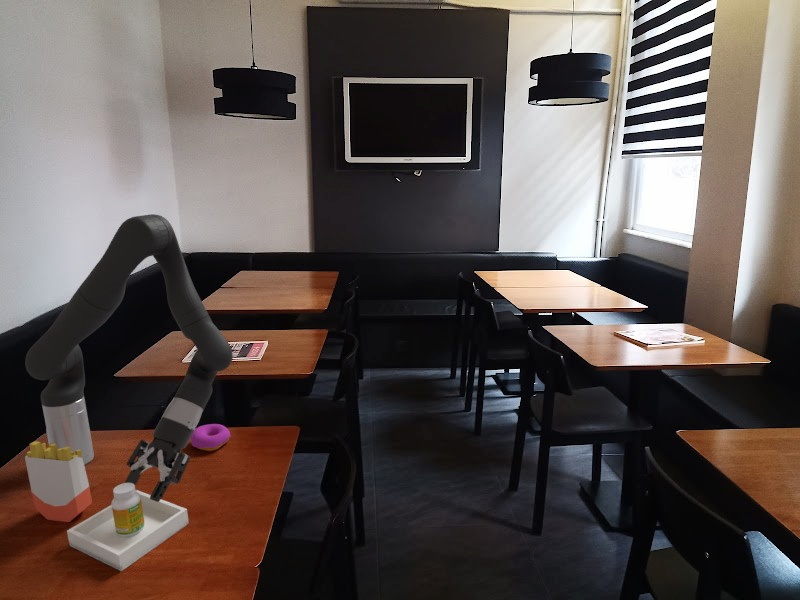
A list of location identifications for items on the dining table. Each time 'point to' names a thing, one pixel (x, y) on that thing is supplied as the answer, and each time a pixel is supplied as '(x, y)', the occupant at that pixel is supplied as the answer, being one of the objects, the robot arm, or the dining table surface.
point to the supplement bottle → (127, 510)
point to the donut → (210, 437)
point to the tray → (123, 551)
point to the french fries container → (57, 481)
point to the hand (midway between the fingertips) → (140, 495)
